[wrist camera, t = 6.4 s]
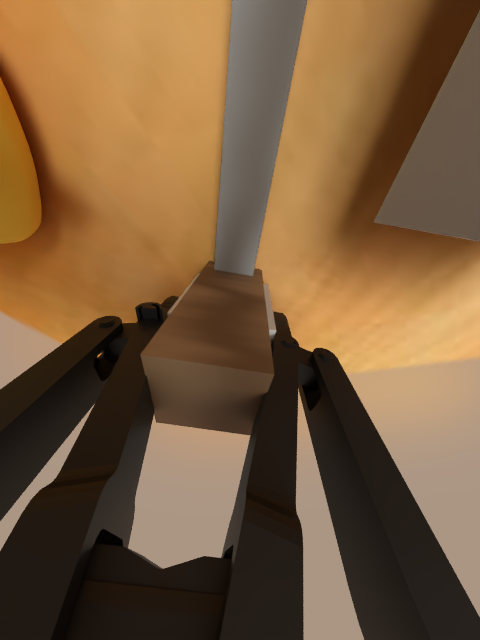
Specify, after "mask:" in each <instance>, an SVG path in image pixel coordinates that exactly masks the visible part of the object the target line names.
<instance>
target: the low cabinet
mask: <svg viewBox="0 0 480 640" xmlns="http://www.w3.org/2000/svg"><path fill="white" fill-rule="evenodd" d="M373 223H378V224H384V225H389V226H395V227H400V228H406V229H411V230H417V231H422V232H428V233H433V234H439V235H444V236H450V237H456V238H461V239H467V240H472V241H478V242H480V11H479V13H478V15H477V17H476V19H475V21H474V23H473V25H472V27H471V29H470V31H469V33H468V35H467V37H466V39H465V41H464V43H463V45H462V47H461V49H460V51H459V53H458V54H457V56H456V58H455V60H454V62H453V64H452V66H451V68H450V70H449V72H448V74H447V76H446V78H445V80H444V82H443V84H442V86H441V88H440V90H439V92H438V94H437V96H436V98H435V100H434V102H433V104H432V106H431V108H430V110H429V112H428V114H427V116H426V118H425V120H424V122H423V124H422V126H421V128H420V130H419V132H418V134H417V136H416V138H415V140H414V142H413V144H412V146H411V148H410V150H409V152H408V154H407V156H406V158H405V160H404V162H403V164H402V166H401V168H400V170H399V172H398V174H397V176H396V178H395V180H394V182H393V184H392V186H391V188H390V190H389V192H388V194H387V196H386V198H385V200H384V202H383V204H382V206H381V208H380V210H379V212H378V214H377V216H376V218H375V220H374V222H373Z"/></svg>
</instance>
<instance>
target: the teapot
mask: <svg viewBox="0 0 480 640" xmlns="http://www.w3.org/2000/svg"><path fill="white" fill-rule="evenodd" d="M41 220H42V207H41V198H40V191H39V184H38V179H37V173H36V169H35V165H34V161H33V158H32V155H31V152H30V148H29V145H28V143H27V140H26V137H25V134H24V132H23V129H22V126H21V124H20V121H19V119H18V116H17V114H16V111H15V109H14V107H13V104H12V102H11V99H10V97H9V95H8V92H7V90H6V88H5V86H4V84H3V82H2V80H1V77H0V244H5V243H13V242H20V241H22V240H25V239H27V238H29V237H30V236H31V235H32V234H33V233H34V232H35V231H36V230H37V229H38V227H39V226H40V224H41Z"/></svg>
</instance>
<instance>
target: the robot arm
mask: <svg viewBox="0 0 480 640" xmlns="http://www.w3.org/2000/svg"><path fill="white" fill-rule="evenodd" d="M199 274H200V273H198V274H197V275H196V276H195V278H194V279H193V280H192V282H191V283H190V284H189V286H188V287H187V288H186V289H185V291H184V292H183V293H182V295H181V296H180V297H177V296H171V297H169V298H167V299H166V300H165V301H164V302H163V303H162V304H161V305H160V304H158V303H154V302H147V303H142V304H140V305H138V306H137V307H136V308H135V309H136V314H137V318H138V322H137V323H124V324H122V320H121V319H120V318H119V317H116V316H105V317H101V318H98V319H97V320H95V321H93V322H92V323H90V324H89V325H88V326H86V327H85V328H84V329H82V330H81V331H80V332H78V333H77V334H75V335H74V336H73V337H71V338H70V339H69V340H67V341H66V342H65V343H63V344H62V345H60V346H59V347H58V348H56V349H55V350H54V351H52V352H51V353H50V354H48V355H47V356H45V357H44V358H43V359H41V360H40V361H39V362H37V363H36V364H35V365H33V366H32V367H30V368H29V369H28V370H27V371H25V372H24V373H22V374H21V375H20V376H18V377H17V378H16V379H14V380H13V381H12V382H10V383H9V384H7V385H6V386H5V387H3V388H2V389H0V521H1V520H2V518H3V517H4V516H5V515H6V513H7V512H8V511H9V510H10V508H11V507H12V506H13V505H14V503H15V502H16V501H17V500H18V498H19V497H20V496H21V495H22V493H23V492H24V491H25V490H26V488H27V487H28V486H29V485H30V483H31V482H32V481H33V480H34V478H35V477H36V476H37V475H38V473H39V472H40V471H41V469H42V468H43V467H44V466H45V465H46V463H47V462H48V461H49V460H50V458H51V457H52V456H53V455H54V453H55V452H56V451H57V450H58V448H59V447H60V446H61V445H62V443H63V442H64V441H65V439H66V438H67V437H68V436H69V435H70V433H71V432H72V431H73V430H74V428H75V427H76V426H77V425H78V423H79V422H80V421H81V419H82V418H83V417H84V416H85V415H86V413H87V412H88V411H89V410H90V408H91V407H92V406H93V405H94V404H95V405H94V407H93V409H92V411H91V413H90V415H89V417H88V418H87V420H86V422H85V424H84V426H83V428H82V430H81V432H80V434H79V436H78V438H77V440H76V442H75V444H74V446H73V447H72V449H71V451H70V453H69V455H68V457H67V459H66V461H65V463H64V465H63V467H62V469H61V471H60V473H59V474H58V476H57V477H56V478H55V480H54V481H53V482H52V483H50V484H49V485H47V486H46V487H44V488H42V489H41V490H40V491H39V492H38V493H37V494H36V495H35V496H34V497H33V498H32V499H31V501H30V502H29V504H28V505H27V507H26V508H25V510H24V511H23V513H22V514H21V516H20V518H19V520H18V521H17V523H16V525H15V527H14V528H13V530H12V532H11V534H10V535H9V537H8V539H7V541H6V542H5V544H4V546H3V548H2V549H1V551H0V640H303V536H302V528H301V523H300V520H299V518H298V515H297V512H296V461H297V416H298V389H299V393H300V396H301V401H302V404H303V408H304V412H305V416H306V420H307V424H308V428H309V432H310V436H311V440H312V444H313V448H314V452H315V456H316V460H317V464H318V468H319V472H320V476H321V480H322V483H323V487H324V491H325V495H326V499H327V503H328V507H329V511H330V515H331V519H332V523H333V527H334V531H335V535H336V539H337V543H338V546H339V551H340V555H341V559H342V563H343V567H344V571H345V574H346V578H347V582H348V586H349V590H350V594H351V597H352V601H353V604H354V608H355V611H356V614H357V618H358V622H359V625H360V628H361V631H362V634H363V637H364V640H480V617H479V616H478V614H477V612H476V610H475V608H474V606H473V605H472V603H471V601H470V599H469V597H468V595H467V594H466V592H465V590H464V588H463V586H462V585H461V583H460V581H459V579H458V577H457V575H456V574H455V572H454V570H453V568H452V566H451V564H450V563H449V561H448V559H447V557H446V555H445V553H444V552H443V550H442V548H441V546H440V544H439V543H438V541H437V539H436V537H435V535H434V533H433V532H432V530H431V528H430V526H429V524H428V523H427V521H426V519H425V517H424V515H423V514H422V512H421V510H420V508H419V506H418V504H417V503H416V501H415V499H414V497H413V495H412V493H411V492H410V490H409V488H408V486H407V484H406V482H405V481H404V479H403V477H402V475H401V473H400V472H399V470H398V468H397V466H396V464H395V462H394V461H393V459H392V457H391V455H390V453H389V452H388V450H387V448H386V446H385V444H384V443H383V441H382V439H381V437H380V435H379V433H378V431H377V430H376V428H375V426H374V424H373V423H372V421H371V419H370V417H369V415H368V413H367V412H366V410H365V408H364V406H363V404H362V403H361V401H360V399H359V397H358V395H357V393H356V391H355V390H354V388H353V386H352V384H351V382H350V381H349V379H348V377H347V375H346V373H345V371H344V370H343V368H342V366H341V364H340V362H339V360H338V359H337V357H336V356H335V355H334V354H333V353H332V352H330V351H329V350H327V349H323V348H316V349H314V351H313V352H310V351H308V350H305V349H303V348H301V347H299V344H298V342H297V341H296V340H295V339H294V338H293V337H292V336H291V332H290V328H289V325H288V323H287V322H288V321H287V318H286V316H285V315H284V314H283V313H278V312H273V309H272V303H271V297H270V292H269V286H268V284H263V286H264V294H265V302H266V310H267V318H268V326H269V334H270V342H271V351H272V359H273V367H274V377H273V379H272V382H271V385H270V387H269V390H268V392H267V393H265V395H264V397H263V400H262V403H261V405H260V408H259V410H258V413H257V416H256V418H255V421H254V423H253V427H252V431H251V436H250V440H249V445H248V449H247V454H246V458H245V462H244V466H243V471H242V475H241V480H240V484H239V488H238V493H237V497H236V502H235V506H234V510H233V514H232V517H231V521H230V524H229V528H228V532H227V536H226V540H225V544H224V548H223V553H222V557H221V558H216V557H207V556H203V557H200V558H197V559H194V560H190V561H188V562H184V563H181V564H178V565H175V566H171V567H168V568H165V569H162V568H160V567H159V566H158V565H156V564H154V563H153V562H151V561H150V560H148V559H147V558H145V557H144V556H142V555H140V554H138V553H136V552H134V551H132V550H130V549H128V544H129V540H130V535H131V530H132V525H133V519H134V511H135V495H136V490H137V486H138V482H139V477H140V473H141V468H142V464H143V460H144V455H145V451H146V446H147V442H148V438H149V433H150V429H151V424H152V420H153V415H154V411H155V410H154V406H153V401H152V397H151V392H150V388H149V384H148V379H147V375H145V372H144V368H143V363H142V359H141V355H140V354H141V353H142V352H143V350H144V349H145V347H146V346H147V345H148V343H149V342H150V341H151V339H152V338H153V337H154V335H155V334H156V333H157V331H158V330H159V329H160V327H161V326H162V325H163V323H164V322H165V320H166V319H167V318H168V316H169V315H170V314H171V312H172V311H173V310H174V308H175V307H176V306H177V304H178V303H179V302H180V300H181V299H182V297H183V296H184V295H185V293H186V292H187V291H188V289H189V288H190V287H191V285H192V284H193V283H194V281H195V280H196V279H197V277H198V276H199ZM100 353H102V354H101V355H100V356H99V357H98V358H97V356H98V355H99V354H100ZM95 402H96V403H95Z"/></svg>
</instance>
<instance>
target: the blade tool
mask: <svg viewBox="0 0 480 640" xmlns="http://www.w3.org/2000/svg"><path fill="white" fill-rule="evenodd" d="M306 4H307V0H232V14H231V29H230V44H229V58H228V73H227V88H226V103H225V117H224V132H223V147H222V161H221V176H220V191H219V205H218V220H217V235H216V249H215V262H210V261H209V262H208V264H207V265H206V266H205V268H204V269H203V270H202V272H201V273H200V274H199V276H198V277H197V279H196V280H195V281H194V283H193V284H192V285H191V287H190V288H189V289H188V291H187V292H186V293H185V295H184V296H183V297H182V299H181V300H180V302H179V303H178V304H177V306H176V307H175V308H174V310H173V311H172V312H171V314H170V315H169V316H168V318H167V319H166V320H165V322H164V323H163V325H162V326H161V327H160V329H159V330H158V331H157V333H156V334H155V335H154V337H153V338H152V339H151V341H150V342H149V343H148V345H147V346H146V347H145V349H144V350H143V352H142V353H141V354H140V355H141V359H142V363H143V368H144V372H145V375H147V379H148V384H149V388H150V392H151V397H152V401H153V406H154V410H155V411H154V415H155V419H156V422H158V423H165V424H172V425H180V426H187V427H195V428H202V429H208V430H216V431H223V432H230V433H237V434H245V435H251V431H252V427H253V423H254V421H255V418H256V416H257V413H258V410H259V408H260V405H261V403H262V400H263V397H264V395H265V393H267V392H268V390H269V387H270V385H271V382H272V379H273V377H274V367H273V359H272V351H271V342H270V334H269V326H268V318H267V310H266V302H265V294H264V286H263V278H262V270H258V269H254V268H255V263H256V258H257V253H258V248H259V242H260V237H261V232H262V227H263V222H264V217H265V212H266V207H267V202H268V197H269V192H270V187H271V182H272V176H273V171H274V166H275V161H276V156H277V151H278V146H279V141H280V136H281V131H282V126H283V121H284V116H285V110H286V105H287V100H288V95H289V90H290V85H291V80H292V75H293V70H294V65H295V60H296V55H297V50H298V45H299V39H300V34H301V29H302V24H303V19H304V14H305V9H306Z"/></svg>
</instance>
